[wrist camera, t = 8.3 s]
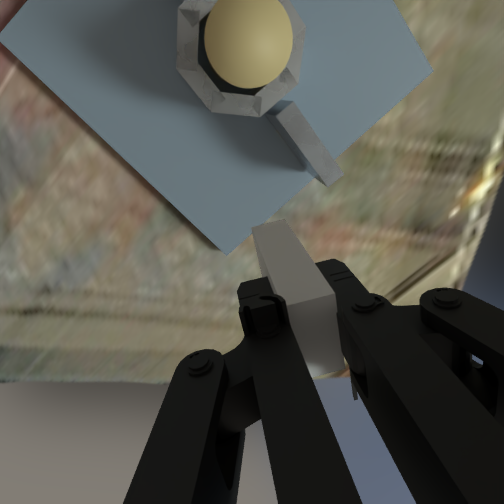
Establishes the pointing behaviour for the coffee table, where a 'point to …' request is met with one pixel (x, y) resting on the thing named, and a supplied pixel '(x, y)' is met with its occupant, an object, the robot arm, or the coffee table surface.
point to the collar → (256, 90)
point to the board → (226, 80)
